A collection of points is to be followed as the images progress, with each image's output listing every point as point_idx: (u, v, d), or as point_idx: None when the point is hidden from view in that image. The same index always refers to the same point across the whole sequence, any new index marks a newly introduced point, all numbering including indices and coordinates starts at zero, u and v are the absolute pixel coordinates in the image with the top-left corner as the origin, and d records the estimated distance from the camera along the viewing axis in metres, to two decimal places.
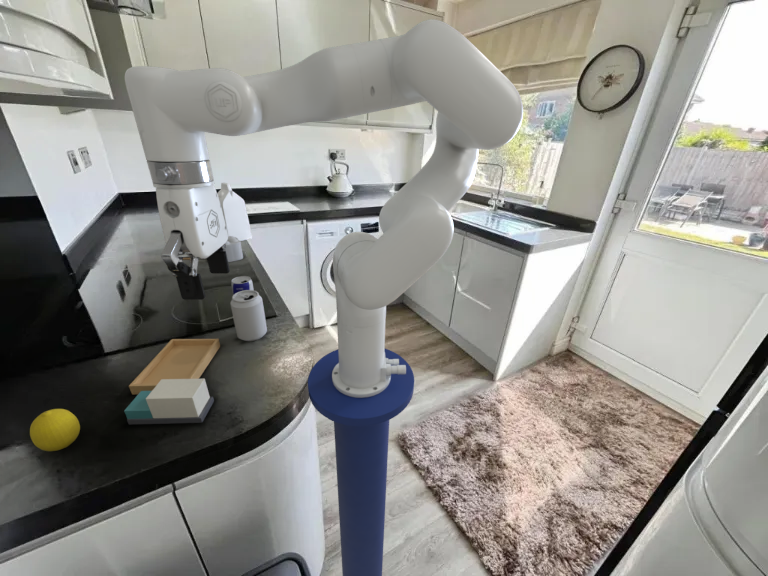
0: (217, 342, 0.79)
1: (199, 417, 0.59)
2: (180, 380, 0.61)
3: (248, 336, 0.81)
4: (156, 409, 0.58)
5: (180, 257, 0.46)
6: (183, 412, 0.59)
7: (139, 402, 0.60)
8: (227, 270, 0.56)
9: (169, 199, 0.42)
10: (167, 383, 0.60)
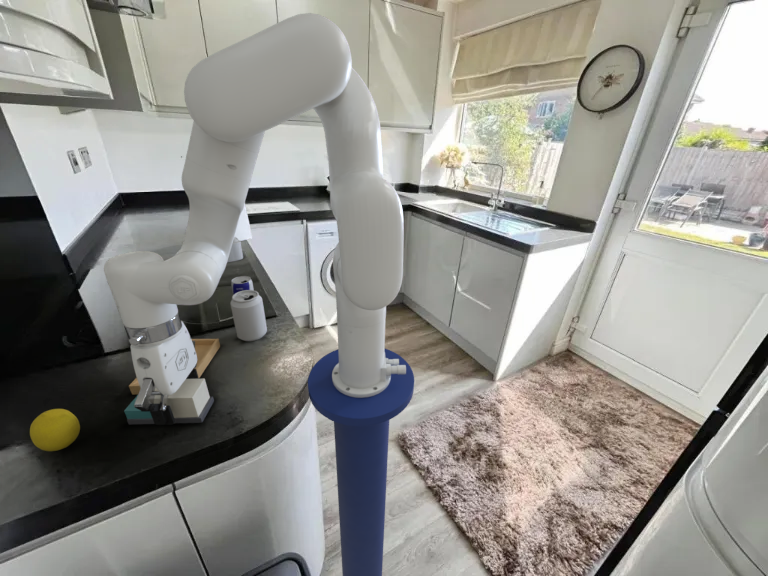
0: (217, 342, 0.79)
1: (199, 417, 0.59)
2: None
3: (248, 336, 0.81)
4: None
5: (152, 394, 0.54)
6: (183, 412, 0.59)
7: None
8: None
9: (141, 355, 0.50)
10: None
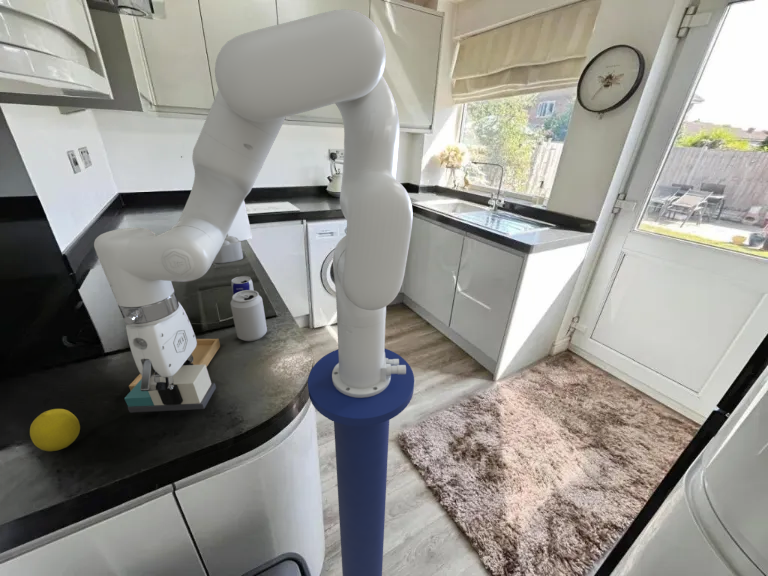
0: (217, 342, 0.79)
1: (201, 403, 0.58)
2: (181, 366, 0.60)
3: (248, 336, 0.81)
4: (157, 396, 0.57)
5: (156, 376, 0.54)
6: (185, 398, 0.57)
7: (139, 389, 0.58)
8: None
9: (137, 335, 0.49)
10: None
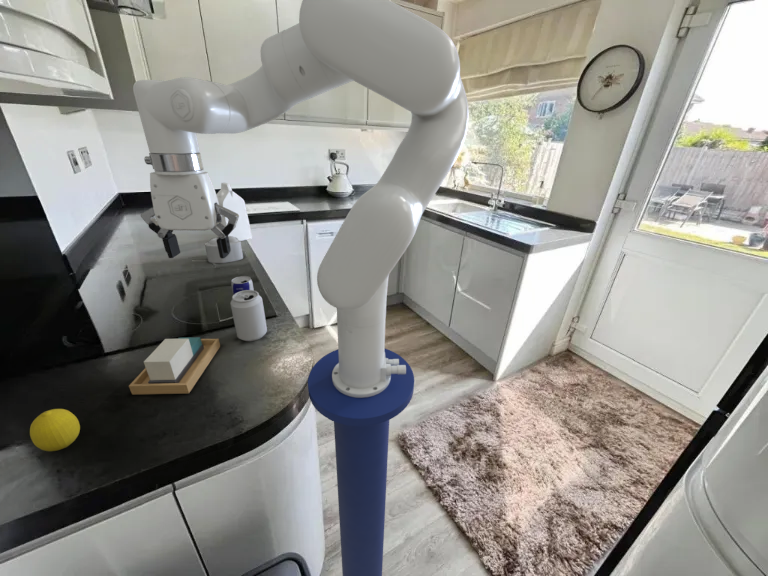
0: (217, 342, 0.79)
1: (149, 381, 0.66)
2: (178, 348, 0.69)
3: (248, 336, 0.81)
4: None
5: None
6: None
7: None
8: (220, 255, 0.63)
9: None
10: (179, 342, 0.70)
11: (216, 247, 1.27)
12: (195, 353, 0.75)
